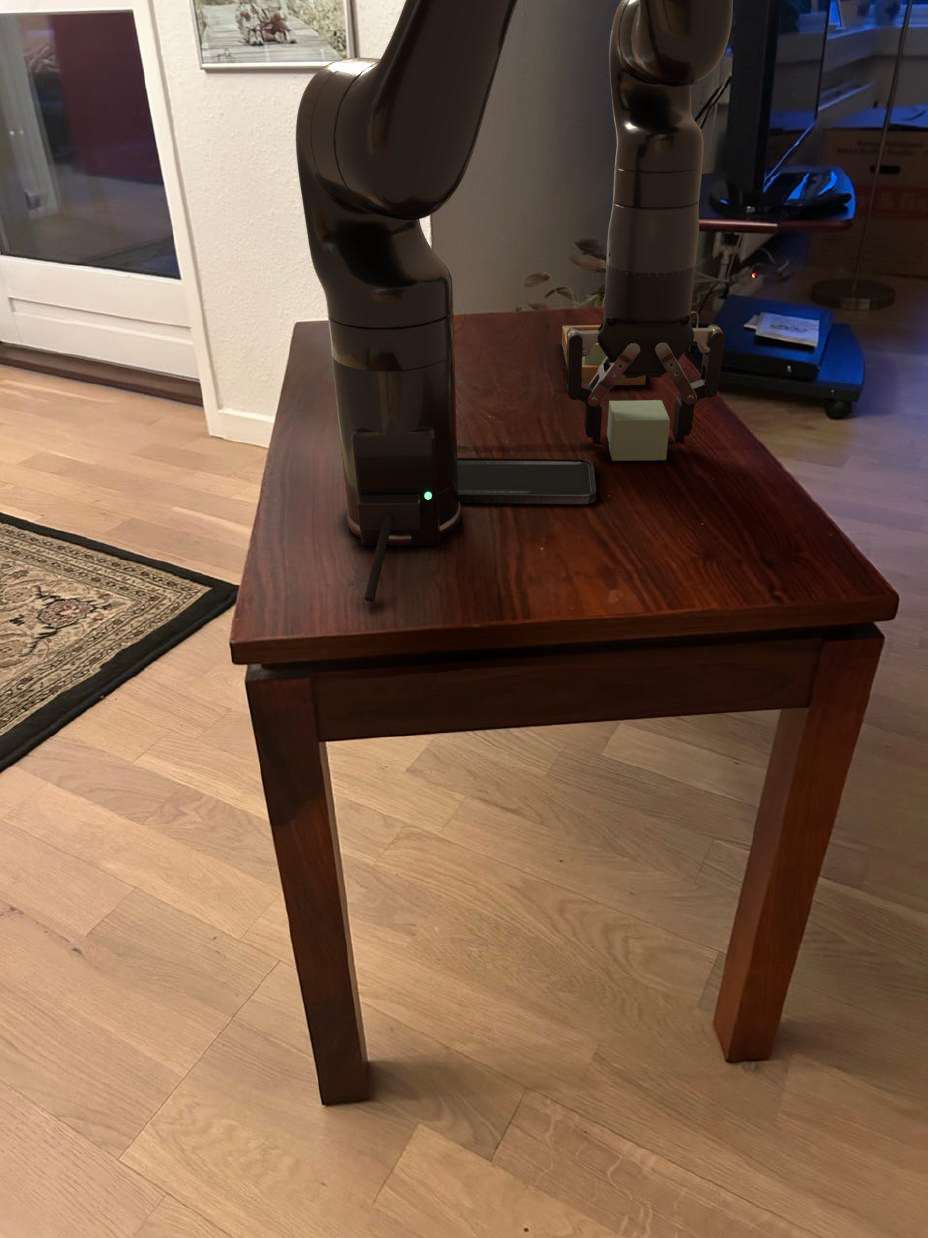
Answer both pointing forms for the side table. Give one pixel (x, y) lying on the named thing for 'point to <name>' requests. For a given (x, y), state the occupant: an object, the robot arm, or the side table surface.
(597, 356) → the green foam block
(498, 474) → the phone
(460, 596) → the side table surface
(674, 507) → the side table surface
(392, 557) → the side table surface
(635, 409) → the green block
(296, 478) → the side table surface
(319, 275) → the robot arm
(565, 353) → the holder
